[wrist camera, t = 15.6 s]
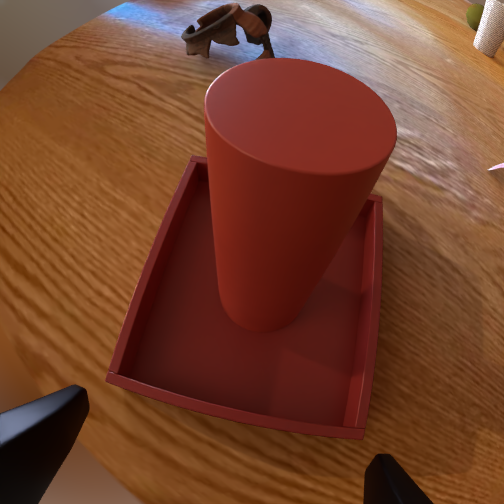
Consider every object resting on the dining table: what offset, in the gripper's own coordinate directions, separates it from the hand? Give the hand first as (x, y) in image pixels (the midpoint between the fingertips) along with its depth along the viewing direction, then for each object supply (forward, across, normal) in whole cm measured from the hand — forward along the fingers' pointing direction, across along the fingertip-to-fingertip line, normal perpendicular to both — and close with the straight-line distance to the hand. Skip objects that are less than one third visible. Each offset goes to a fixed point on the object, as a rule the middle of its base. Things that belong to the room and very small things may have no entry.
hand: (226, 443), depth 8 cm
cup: (+62, -42, -49) cm, 89 cm away
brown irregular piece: (+31, +8, -19) cm, 37 cm away
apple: (+80, -50, -68) cm, 116 cm away
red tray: (+12, 0, 0) cm, 12 cm away
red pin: (+11, 0, 0) cm, 11 cm away
